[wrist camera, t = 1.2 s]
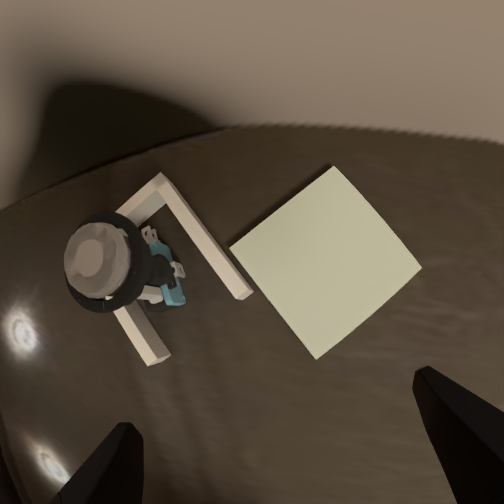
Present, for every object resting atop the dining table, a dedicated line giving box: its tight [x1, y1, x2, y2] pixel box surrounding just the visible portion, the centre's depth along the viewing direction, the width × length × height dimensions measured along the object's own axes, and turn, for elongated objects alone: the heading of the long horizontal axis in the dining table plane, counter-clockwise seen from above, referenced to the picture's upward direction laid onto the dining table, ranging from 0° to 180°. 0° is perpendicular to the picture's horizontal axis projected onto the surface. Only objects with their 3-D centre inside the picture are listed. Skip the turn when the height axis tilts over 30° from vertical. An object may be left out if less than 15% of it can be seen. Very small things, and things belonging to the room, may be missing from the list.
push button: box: [64, 211, 186, 313], centre depth 19 cm, size 7×5×10 cm
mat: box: [229, 166, 422, 359], centre depth 22 cm, size 10×10×1 cm
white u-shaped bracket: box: [105, 172, 254, 366], centre depth 23 cm, size 9×11×2 cm
